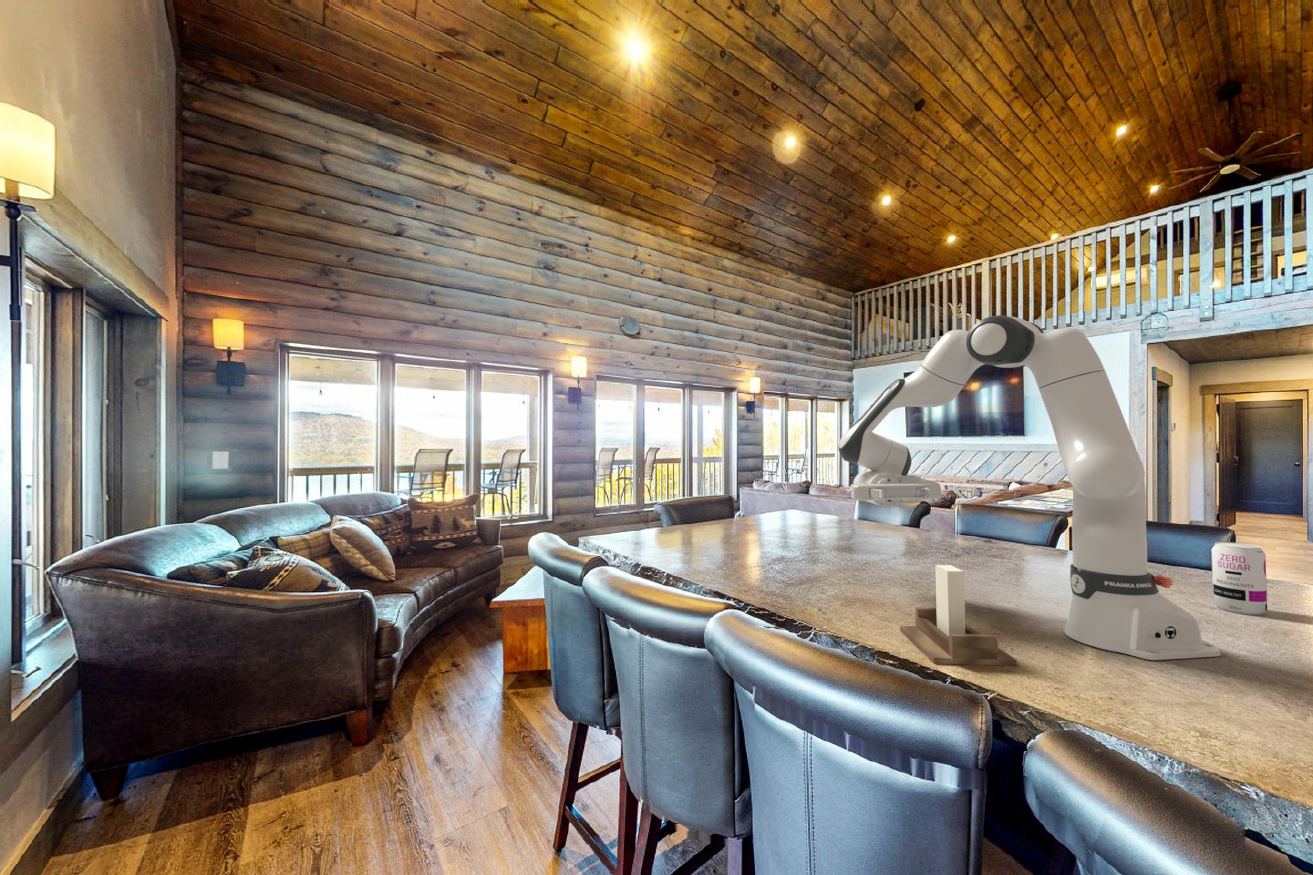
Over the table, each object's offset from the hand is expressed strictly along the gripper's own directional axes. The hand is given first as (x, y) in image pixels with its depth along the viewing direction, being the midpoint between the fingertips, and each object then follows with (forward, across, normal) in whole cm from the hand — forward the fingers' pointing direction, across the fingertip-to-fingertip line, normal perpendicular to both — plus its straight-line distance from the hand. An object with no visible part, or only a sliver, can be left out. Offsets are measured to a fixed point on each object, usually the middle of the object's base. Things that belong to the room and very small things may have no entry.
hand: (906, 494), depth 115 cm
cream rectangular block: (+15, +1, +27) cm, 31 cm away
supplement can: (-9, +76, +30) cm, 82 cm away
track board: (+16, +1, +28) cm, 33 cm away
